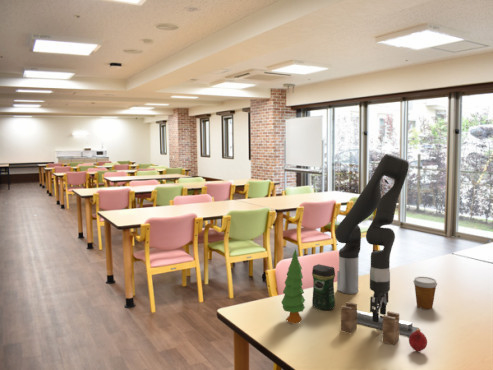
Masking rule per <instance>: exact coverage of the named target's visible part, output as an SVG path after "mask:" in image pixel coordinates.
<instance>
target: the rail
mask: <svg viewBox="0 0 493 370" xmlns="http://www.w3.org/2000/svg"><path fill="white" fill-rule="evenodd" d="M383 316H384V315H379V322H373V313H372V312H366V311H362V310H358V309H357V319H361V320H365V321H369V322H373V323H378V324H382V325H383ZM412 326H413V322H412V321H406V320H400V319H399V329H402V330H406V331H410V332H411V330H412Z"/></svg>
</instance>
